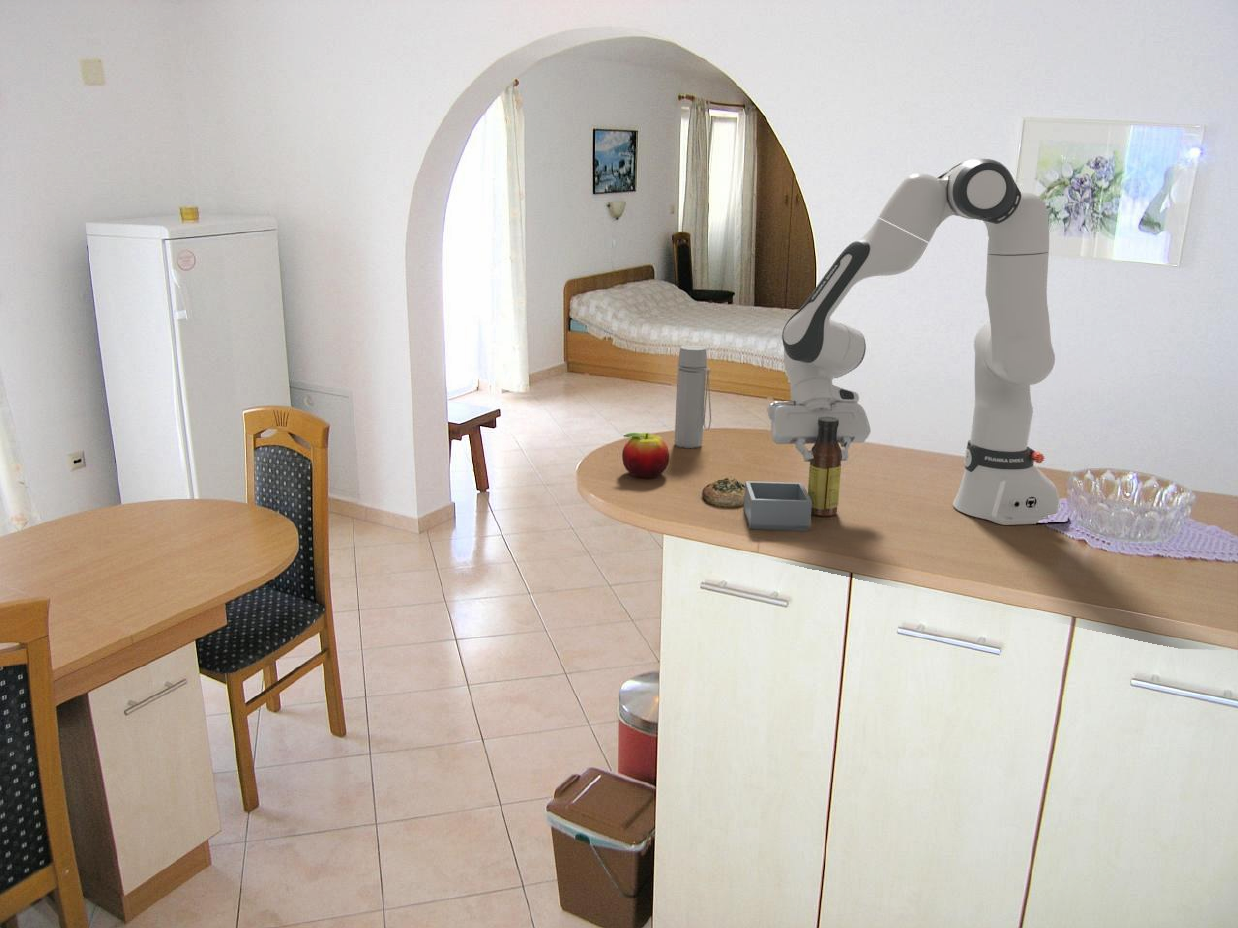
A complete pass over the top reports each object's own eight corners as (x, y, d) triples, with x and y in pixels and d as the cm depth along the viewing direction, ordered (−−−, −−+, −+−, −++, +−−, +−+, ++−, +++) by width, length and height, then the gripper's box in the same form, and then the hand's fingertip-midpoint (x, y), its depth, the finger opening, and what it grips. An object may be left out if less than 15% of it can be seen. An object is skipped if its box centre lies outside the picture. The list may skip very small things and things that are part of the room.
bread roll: (708, 487, 209) (712, 466, 207) (757, 501, 206) (761, 480, 204) (693, 504, 199) (697, 482, 197) (744, 519, 196) (749, 497, 194)
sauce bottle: (835, 508, 198) (845, 415, 192) (839, 518, 192) (849, 423, 186) (803, 506, 198) (813, 413, 193) (806, 516, 192) (816, 421, 187)
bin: (799, 510, 196) (802, 482, 194) (809, 530, 185) (812, 501, 183) (743, 508, 196) (745, 481, 194) (749, 529, 185) (751, 499, 183)
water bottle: (669, 447, 238) (673, 348, 231) (679, 439, 245) (683, 343, 238) (704, 452, 235) (709, 352, 228) (713, 444, 242) (719, 347, 235)
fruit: (673, 481, 212) (674, 438, 209) (625, 482, 211) (626, 439, 208) (663, 467, 222) (665, 425, 220) (617, 468, 221) (618, 426, 218)
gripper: (769, 393, 193) (781, 453, 187) (865, 393, 196) (879, 451, 190) (761, 409, 199) (772, 468, 192) (854, 408, 202) (868, 466, 195)
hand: (826, 460), depth 191 cm, fingers closed on sauce bottle, 6 cm apart
